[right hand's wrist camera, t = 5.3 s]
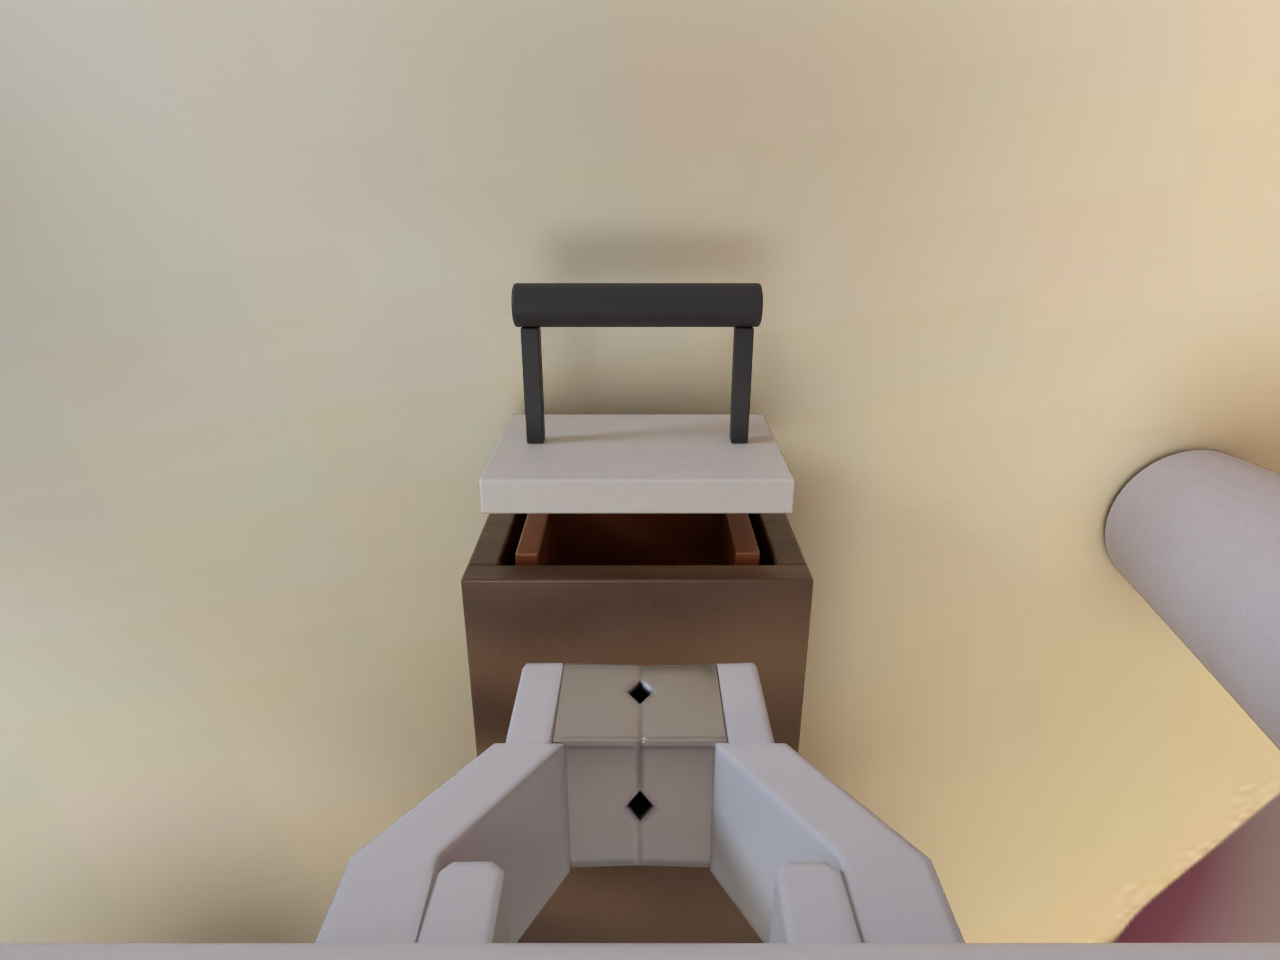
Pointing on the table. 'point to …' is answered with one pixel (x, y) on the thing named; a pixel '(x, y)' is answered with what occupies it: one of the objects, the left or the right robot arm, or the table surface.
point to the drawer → (637, 444)
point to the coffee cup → (1209, 566)
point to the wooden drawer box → (647, 636)
